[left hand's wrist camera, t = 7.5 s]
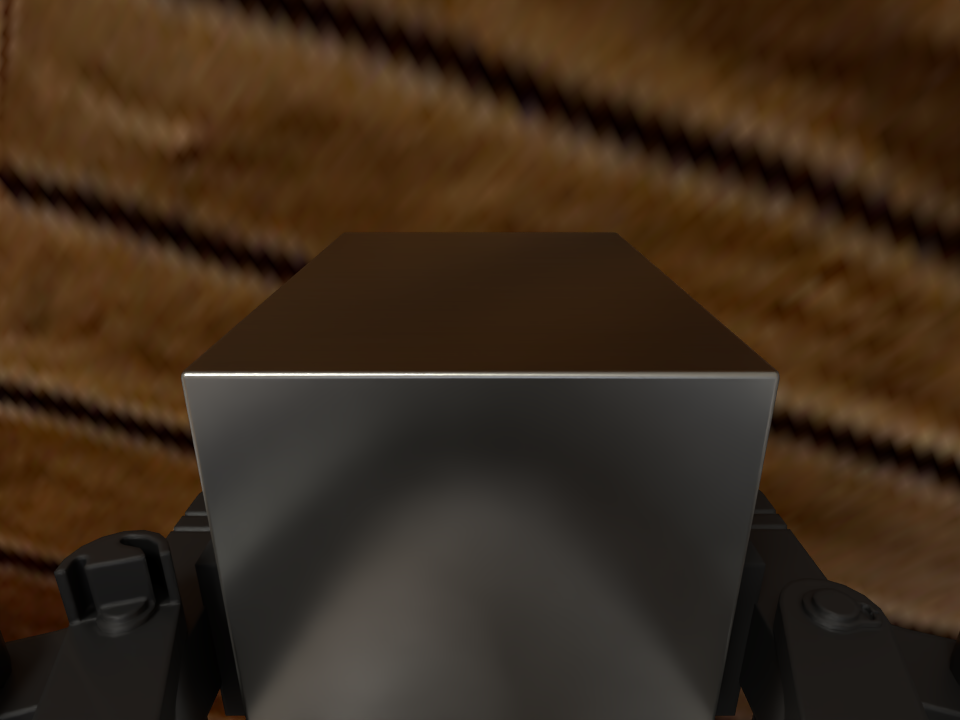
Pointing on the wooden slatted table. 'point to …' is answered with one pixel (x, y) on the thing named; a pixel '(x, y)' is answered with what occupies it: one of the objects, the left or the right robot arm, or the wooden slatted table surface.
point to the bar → (480, 482)
